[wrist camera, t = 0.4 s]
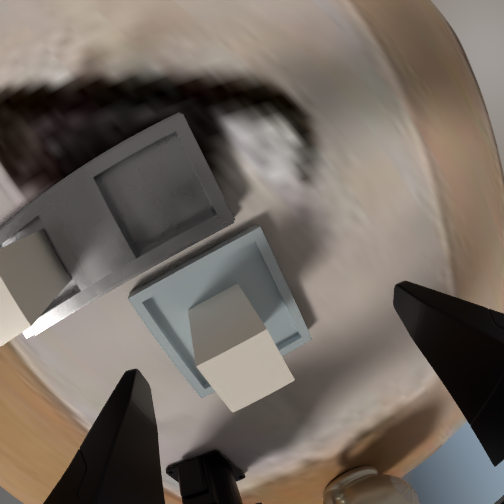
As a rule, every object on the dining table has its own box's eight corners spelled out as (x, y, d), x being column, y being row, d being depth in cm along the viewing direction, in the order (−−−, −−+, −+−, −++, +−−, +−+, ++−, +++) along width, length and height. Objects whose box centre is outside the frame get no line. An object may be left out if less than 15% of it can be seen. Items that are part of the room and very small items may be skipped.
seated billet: (71, 280, 18) (31, 326, 11) (33, 305, 17) (-10, 353, 11) (42, 229, 17) (-12, 254, 10) (5, 257, 16) (-49, 290, 10)
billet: (261, 326, 23) (294, 380, 16) (214, 351, 22) (232, 412, 16) (237, 283, 21) (266, 329, 15) (187, 310, 21) (196, 366, 14)
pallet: (231, 220, 21) (237, 225, 19) (39, 329, 19) (29, 343, 17) (179, 115, 18) (179, 107, 16) (-12, 241, 16) (-27, 247, 14)
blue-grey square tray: (306, 332, 24) (312, 339, 23) (199, 389, 23) (201, 398, 22) (255, 224, 21) (260, 226, 20) (130, 292, 20) (127, 298, 19)
